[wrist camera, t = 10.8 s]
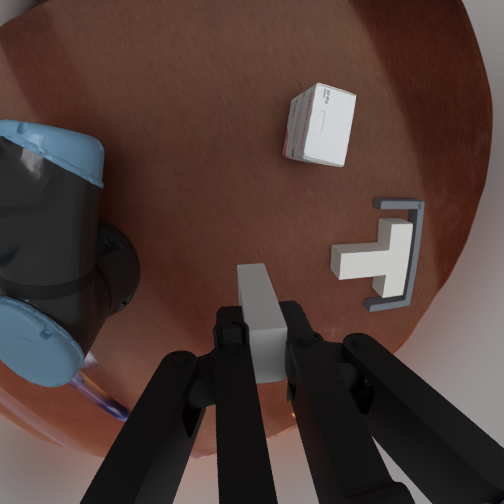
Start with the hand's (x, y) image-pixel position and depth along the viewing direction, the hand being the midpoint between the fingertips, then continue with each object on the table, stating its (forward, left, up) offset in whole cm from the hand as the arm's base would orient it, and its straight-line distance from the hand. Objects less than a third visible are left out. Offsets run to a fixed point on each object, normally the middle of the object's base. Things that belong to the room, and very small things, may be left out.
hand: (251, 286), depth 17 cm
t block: (+21, -9, -27) cm, 35 cm away
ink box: (+10, +10, -27) cm, 30 cm away
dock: (+26, -9, -26) cm, 38 cm away
